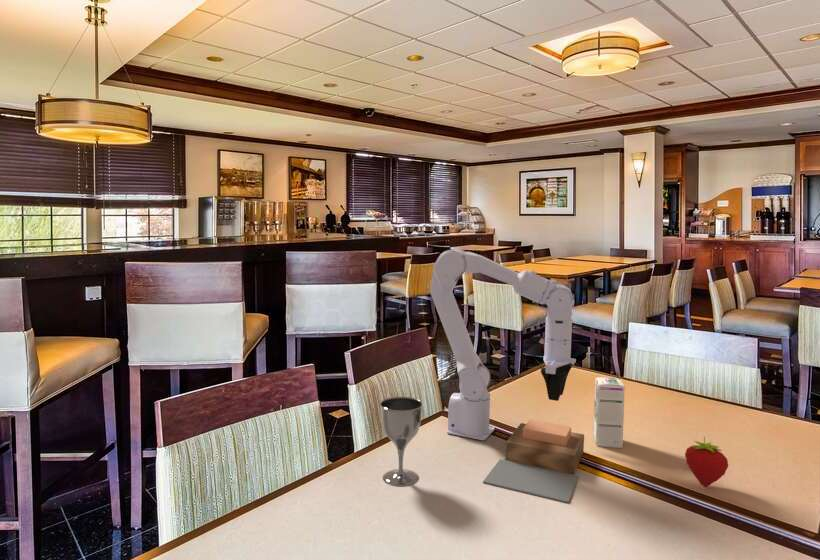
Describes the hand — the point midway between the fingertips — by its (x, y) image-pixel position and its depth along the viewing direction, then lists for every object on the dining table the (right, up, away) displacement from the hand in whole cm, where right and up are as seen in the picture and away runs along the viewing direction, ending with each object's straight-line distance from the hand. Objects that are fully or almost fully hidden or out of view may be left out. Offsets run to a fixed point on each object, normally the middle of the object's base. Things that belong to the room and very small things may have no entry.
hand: (555, 397), depth 121 cm
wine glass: (-35, -12, -17) cm, 41 cm away
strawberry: (+23, -13, -19) cm, 33 cm away
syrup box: (+12, -11, +1) cm, 16 cm away
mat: (-10, -12, -17) cm, 23 cm away
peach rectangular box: (-4, -7, -6) cm, 10 cm away
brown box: (-4, -11, -7) cm, 14 cm away
